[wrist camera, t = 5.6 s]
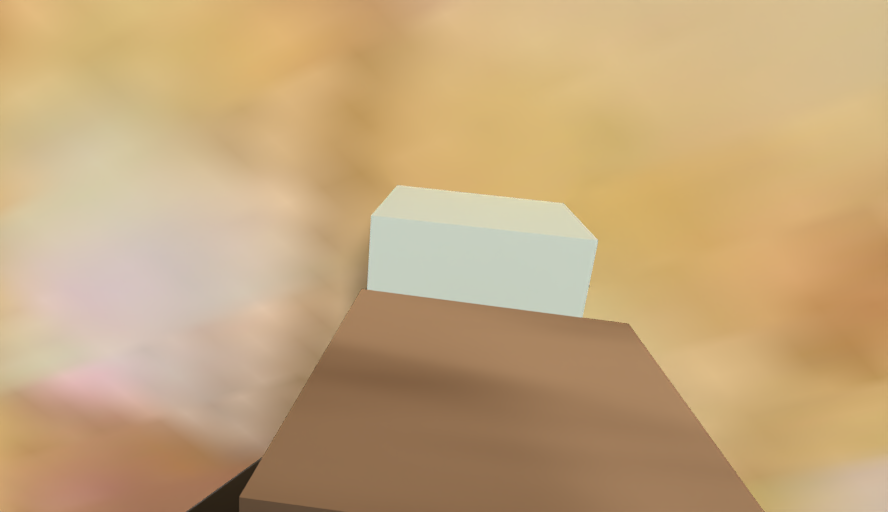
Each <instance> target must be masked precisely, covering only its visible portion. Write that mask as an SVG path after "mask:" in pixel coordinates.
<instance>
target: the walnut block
mask: <svg viewBox="0 0 888 512" xmlns="http://www.w3.org/2000/svg"><path fill="white" fill-rule="evenodd" d="M239 512H764V511H763V509H762V508H761V507H760V505H759V504H758V502H757V501H756V500H755V498H754V497H753V495H752V494H751V493H750V491H749V490H748V489H747V487H746V486H745V484H744V483H743V482H742V480H741V479H740V477H739V476H738V475H737V473H736V472H735V470H734V469H733V468H732V466H731V465H730V464H729V462H728V461H727V459H726V458H725V457H724V455H723V454H722V452H721V451H720V450H719V448H718V447H717V446H716V444H715V443H714V441H713V440H712V439H711V437H710V436H709V434H708V433H707V432H706V430H705V429H704V428H703V426H702V425H701V423H700V422H699V421H698V419H697V418H696V416H695V415H694V414H693V412H692V411H691V409H690V408H689V407H688V405H687V404H686V403H685V401H684V400H683V398H682V397H681V396H680V394H679V393H678V391H677V390H676V389H675V387H674V386H673V385H672V383H671V382H670V380H669V379H668V378H667V376H666V375H665V373H664V372H663V371H662V369H661V368H660V367H659V365H658V364H657V362H656V361H655V360H654V358H653V357H652V355H651V354H650V353H649V351H648V350H647V348H646V347H645V346H644V344H643V343H642V342H641V340H640V339H639V337H638V336H637V335H636V333H635V332H634V330H633V329H632V328H631V326H630V325H629V324H627V323H619V322H612V321H604V320H596V319H589V318H581V317H573V316H566V315H558V314H550V313H542V312H535V311H527V310H519V309H512V308H504V307H496V306H489V305H481V304H473V303H466V302H458V301H450V300H442V299H435V298H427V297H419V296H412V295H404V294H396V293H389V292H381V291H373V290H366V289H361V291H360V293H359V294H358V296H357V298H356V299H355V301H354V303H353V304H352V306H351V308H350V310H349V311H348V313H347V315H346V316H345V318H344V320H343V321H342V323H341V325H340V327H339V328H338V330H337V332H336V333H335V335H334V337H333V338H332V340H331V342H330V344H329V345H328V347H327V349H326V350H325V352H324V354H323V355H322V357H321V359H320V361H319V362H318V364H317V366H316V367H315V369H314V371H313V372H312V374H311V376H310V378H309V379H308V381H307V383H306V384H305V386H304V388H303V389H302V391H301V393H300V395H299V396H298V398H297V400H296V401H295V403H294V405H293V406H292V408H291V410H290V412H289V413H288V415H287V417H286V418H285V420H284V422H283V423H282V425H281V427H280V429H279V430H278V432H277V434H276V435H275V437H274V439H273V440H272V442H271V444H270V446H269V447H268V449H267V451H266V452H265V454H264V456H263V457H262V459H261V461H260V462H259V464H258V466H257V468H256V469H255V471H254V473H253V474H252V476H251V478H250V479H249V481H248V483H247V485H246V486H245V488H244V490H243V491H242V493H241V495H240V496H239Z"/></svg>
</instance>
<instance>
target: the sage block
mask: <svg viewBox="0 0 888 512" xmlns="http://www.w3.org/2000/svg"><path fill="white" fill-rule="evenodd" d="M597 244H598V240H597V239H596V237H595V236H594V235H593V234H592V233H591V232H590V231H589V230H588V229H587V228H586V227H585V226H584V225H583V224H582V222H581V221H580V220H579V219H578V218H577V217H576V216H575V215H574V214H573V213H572V212H571V211H570V210H569V209H568V207H567V206H566V205H565V204H564V203H557V202H548V201H538V200H529V199H520V198H511V197H502V196H493V195H483V194H474V193H465V192H456V191H447V190H437V189H428V188H419V187H410V186H401V185H397V186H396V187H395V188H394V190H393V191H392V192H391V193H390V194H389V195H388V197H387V198H386V199H385V200H384V201H383V202H382V203H381V205H380V206H379V207H378V208H377V209H376V210H375V212H374V213H373V214H372V215H371V228H370V246H369V264H368V282H367V290H373V291H381V292H389V293H396V294H404V295H412V296H419V297H427V298H435V299H442V300H450V301H458V302H466V303H473V304H481V305H489V306H496V307H504V308H512V309H519V310H527V311H535V312H542V313H550V314H558V315H566V316H573V317H581V318H582V316H583V312H584V307H585V302H586V297H587V292H588V288H589V283H590V278H591V273H592V268H593V264H594V259H595V254H596V249H597Z"/></svg>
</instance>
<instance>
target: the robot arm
mask: <svg viewBox="0 0 888 512" xmlns="http://www.w3.org/2000/svg"><path fill="white" fill-rule="evenodd" d="M261 459H262V458H260V459H259V460H257V461H256V462H255V463H253V464H252V465H250V466H249V467H248V468H246V469H245V470H244V471H242V472H241V473H239V474H238V475H237V476H235V477H234V478H232V479H231V480H230V481H228V482H227V483H225V484H224V485H223V486H221V487H220V488H219V489H217V490H216V491H214V492H213V493H212V494H210V495H209V496H207V497H206V498H205V499H203V500H202V501H200V502H199V503H198V504H196V505H195V506H194V507H192V508H191V509H189V510H188V511H187V512H239V496H240V495H241V493H242V491H243V490H244V488H245V486H246V485H247V483H248V481H249V479H250V478H251V476H252V474H253V473H254V471H255V469H256V468H257V466H258V464H259V462H260V461H261Z"/></svg>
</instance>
